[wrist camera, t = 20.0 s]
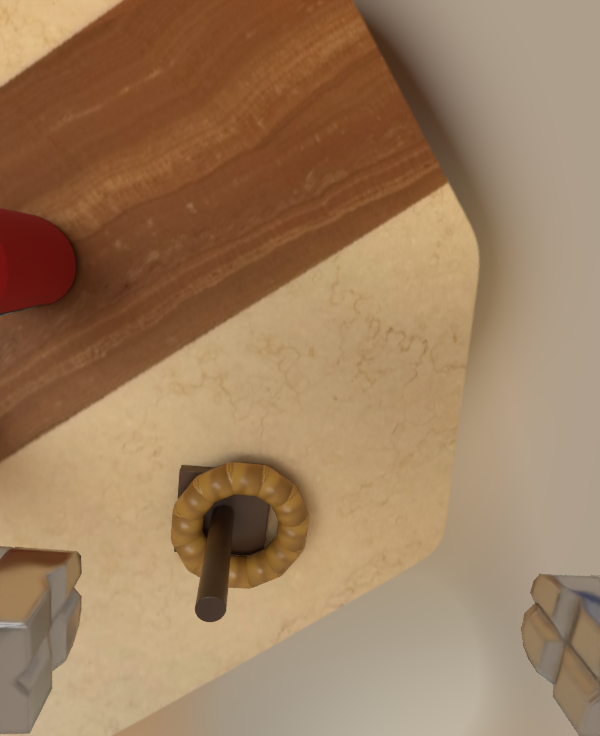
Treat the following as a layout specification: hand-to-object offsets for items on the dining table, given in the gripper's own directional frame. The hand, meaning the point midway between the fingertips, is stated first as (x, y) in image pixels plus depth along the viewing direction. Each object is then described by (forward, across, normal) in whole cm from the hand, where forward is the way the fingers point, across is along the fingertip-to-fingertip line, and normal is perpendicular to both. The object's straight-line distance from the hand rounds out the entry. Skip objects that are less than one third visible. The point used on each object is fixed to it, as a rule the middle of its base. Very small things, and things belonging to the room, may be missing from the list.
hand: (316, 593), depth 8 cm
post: (+30, +3, +17) cm, 34 cm away
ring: (+28, +1, +17) cm, 33 cm away
